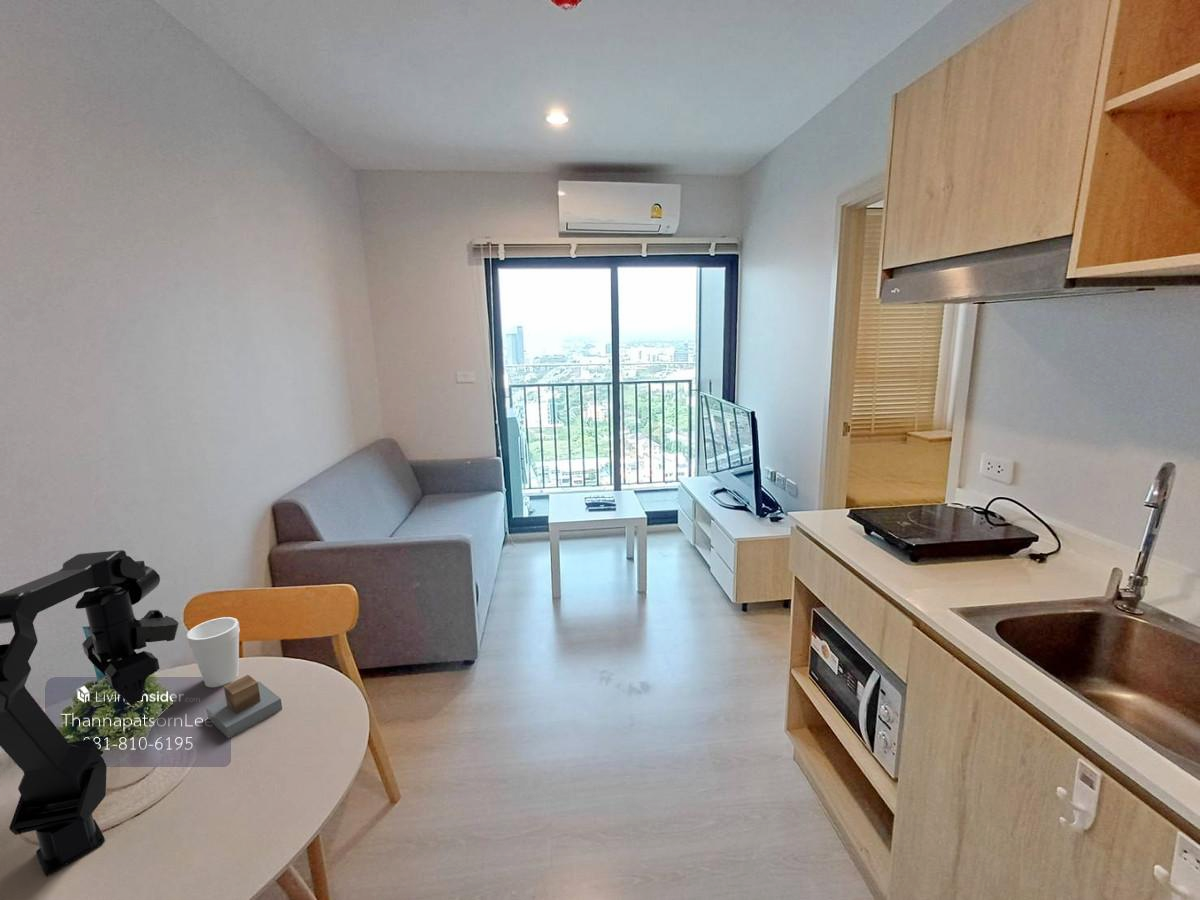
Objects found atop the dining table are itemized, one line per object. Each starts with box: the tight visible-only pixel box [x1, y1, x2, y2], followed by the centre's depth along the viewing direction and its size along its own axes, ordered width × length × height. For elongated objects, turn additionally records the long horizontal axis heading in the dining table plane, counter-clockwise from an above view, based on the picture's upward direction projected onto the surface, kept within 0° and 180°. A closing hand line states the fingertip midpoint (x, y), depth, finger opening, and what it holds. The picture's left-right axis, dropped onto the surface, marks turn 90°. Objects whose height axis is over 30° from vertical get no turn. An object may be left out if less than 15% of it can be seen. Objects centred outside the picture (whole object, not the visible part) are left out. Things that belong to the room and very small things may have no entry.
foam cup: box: [186, 616, 241, 688], centre depth 116 cm, size 10×9×13 cm
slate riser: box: [205, 681, 283, 739], centre depth 106 cm, size 10×10×2 cm
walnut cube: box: [223, 674, 261, 714], centre depth 105 cm, size 4×4×4 cm
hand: (128, 695), depth 93 cm, fingers open, 9 cm apart
